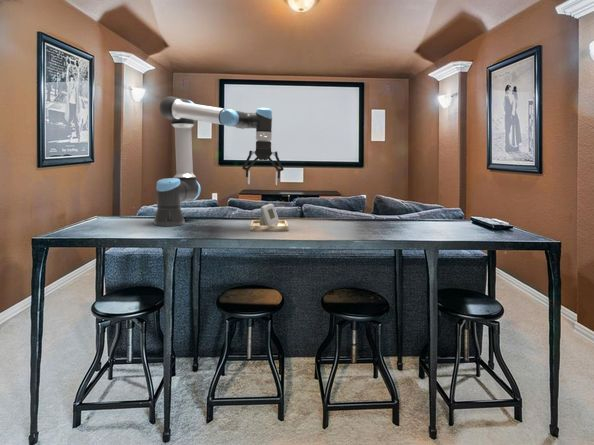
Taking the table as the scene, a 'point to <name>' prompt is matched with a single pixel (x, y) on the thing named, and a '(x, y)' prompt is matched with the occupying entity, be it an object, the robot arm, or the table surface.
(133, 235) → the table surface
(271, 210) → the digital clock
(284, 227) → the birch tray
